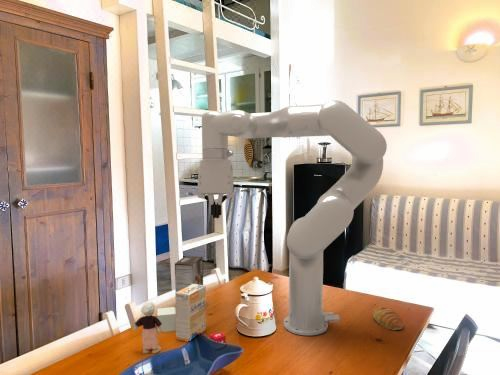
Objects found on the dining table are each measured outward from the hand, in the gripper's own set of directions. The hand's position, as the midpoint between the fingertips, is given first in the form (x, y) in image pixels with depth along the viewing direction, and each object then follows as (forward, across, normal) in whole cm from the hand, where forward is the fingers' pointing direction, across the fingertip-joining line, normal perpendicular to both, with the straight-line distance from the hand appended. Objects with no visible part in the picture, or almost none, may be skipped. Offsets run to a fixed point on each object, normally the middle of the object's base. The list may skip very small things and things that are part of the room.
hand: (216, 217), depth 110 cm
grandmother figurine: (+31, +15, +19) cm, 39 cm away
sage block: (+31, +14, +6) cm, 35 cm away
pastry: (+32, -51, +1) cm, 60 cm away
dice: (+31, -2, +16) cm, 35 cm away
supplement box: (+31, +6, +10) cm, 33 cm away
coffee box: (+31, +10, -8) cm, 34 cm away
